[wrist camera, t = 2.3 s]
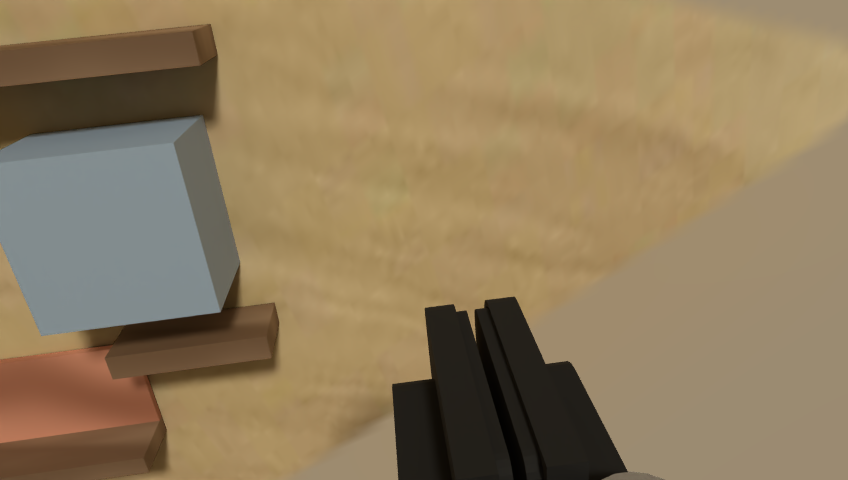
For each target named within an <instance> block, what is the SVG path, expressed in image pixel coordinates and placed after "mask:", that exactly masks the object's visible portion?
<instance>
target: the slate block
mask: <svg viewBox="0 0 848 480" xmlns="http://www.w3.org/2000/svg"><path fill="white" fill-rule="evenodd" d="M0 243H1V245H2V247H3V250H4V252H5V254H6V256H7V259H8V261H9V263H10V266H11V268H12V270H13V272H14V275H15V277H16V279H17V282H18V284H19V286H20V288H21V291H22V293H23V295H24V298H25V300H26V302H27V304H28V307H29V309H30V311H31V314H32V316H33V318H34V320H35V323H36V325H37V327H38V329H39V332H40V334H41V336H45V335H52V334H60V333H68V332H75V331H83V330H90V329H98V328H105V327H113V326H120V325H128V324H135V323H143V322H151V321H158V320H166V319H173V318H181V317H188V316H196V315H203V314H211V313H218V312H221V310H222V307H223V305H224V302H225V300H226V297H227V295H228V292H229V290H230V287H231V284H232V282H233V279H234V277H235V274H236V272H237V269H238V267H239V264H240V260H239V256H238V252H237V248H236V244H235V240H234V236H233V232H232V228H231V224H230V220H229V216H228V213H227V209H226V205H225V201H224V197H223V193H222V189H221V185H220V181H219V177H218V173H217V169H216V165H215V161H214V157H213V153H212V149H211V145H210V141H209V137H208V133H207V129H206V125H205V121H204V117H203V115H196V116H188V117H179V118H170V119H161V120H152V121H143V122H135V123H126V124H117V125H108V126H99V127H91V128H82V129H73V130H64V131H55V132H47V133H38V134H31V135H29V136H27V137H25V138H23V139H21V140H19V141H17V142H15V143H13V144H11V145H9V146H7V147H5V148H3V149H1V150H0Z"/></svg>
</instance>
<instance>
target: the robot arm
mask: <svg viewBox="0 0 848 480" xmlns="http://www.w3.org/2000/svg"><path fill="white" fill-rule="evenodd" d="M425 317H426V327H427V336H428V346H429V356H430V365H431V375H432V379H428V380H420V381H413V382H405V383H397V384H392V390H393V406H394V419H395V420H394V421H395V434H396V449H397V464H398V480H664V479H662V478H659V477H655V476H653V475H650V474H646V473H637V472H628V471H627V469H626V467H625V465H624V463H623V461H622V460H621V458H620V456H619V454H618V452H617V450H616V448H615V446H614V444H613V442H612V440H611V438H610V436H609V434H608V432H607V431H606V429H605V427H604V425H603V423H602V421H601V419H600V417H599V415H598V413H597V411H596V409H595V407H594V405H593V403H592V401H591V400H590V398H589V396H588V394H587V392H586V390H585V388H584V386H583V384H582V382H581V380H580V378H579V376H578V374H577V372H576V370H575V369H574V367H573V366H572V364H571V363H570V362H568V361H566V362H558V363H550V364H545V362H544V360H543V358H542V355H541V353H540V351H539V349H538V346H537V344H536V342H535V340H534V337H533V335H532V333H531V331H530V328H529V326H528V324H527V322H526V319H525V317H524V315H523V313H522V311H521V308H520V306H519V304H518V302H517V300H516V298H515V297H507V298H499V299H491V300H485V304H484V308H482V309H475V330H476V341H475V338H474V334H473V331H472V328H471V324H470V321H469V317H468V314H467V311H458V312H456V310H455V306H454V304H452V305H444V306H436V307H428V308H425Z"/></svg>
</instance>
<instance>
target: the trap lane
mask: <svg viewBox="0 0 848 480" xmlns="http://www.w3.org/2000/svg"><path fill="white" fill-rule="evenodd" d="M216 55H217V50H216V46H215V42H214V37H213V33H212V28H211V24H207V25H197V26H187V27H177V28H168V29H158V30H148V31H139V32H129V33H119V34H109V35H100V36H90V37H80V38H71V39H61V40H51V41H41V42H32V43H22V44H12V45H3V46H0V87H3V86H13V85H22V84H31V83H41V82H50V81H59V80H69V79H78V78H88V77H97V76H106V75H116V74H125V73H134V72H144V71H153V70H162V69H172V68H181V67H191V66H200V65H202V64H203V63H205V62H207V61H208V60H210V59H211V58H213V57H215V56H216ZM278 326H279V320H278V316H277V312H276V307H275V303H269V304H261V305H254V306H246V307H238V308H231V309H223V310H221V312H218V313H211V314H203V315H196V316H188V317H181V318H173V319H166V320H158V321H151V322H143V323H135V324H128V325H125V327H124V329H123V330H122V332H121V333H120V335H119V336H118V338H117V339H116V341H115V343H114V344H113V345H109V346H101V347H94V348H86V349H79V350H71V351H64V352H56V353H49V354H41V355H33V356H26V357H18V358H11V359H3V360H0V480H100V479H107V478H114V477H121V476H128V475H134V474H141V473H148V472H149V471H150V469H151V466H152V464H153V461H154V459H155V457H156V454H157V452H158V449H159V447H160V444H161V442H162V440H163V437H164V435H165V432H166V427H165V424H164V421H163V419H162V416H161V413H160V410H159V408H158V405H157V402H156V399H155V396H154V394H153V391H152V388H151V385H150V382H149V380H148V377H147V375H151V374H158V373H165V372H173V371H180V370H188V369H195V368H202V367H210V366H217V365H224V364H232V363H239V362H247V361H254V360H261V359H269V358H272V354H273V349H274V344H275V340H276V335H277V331H278Z"/></svg>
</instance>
